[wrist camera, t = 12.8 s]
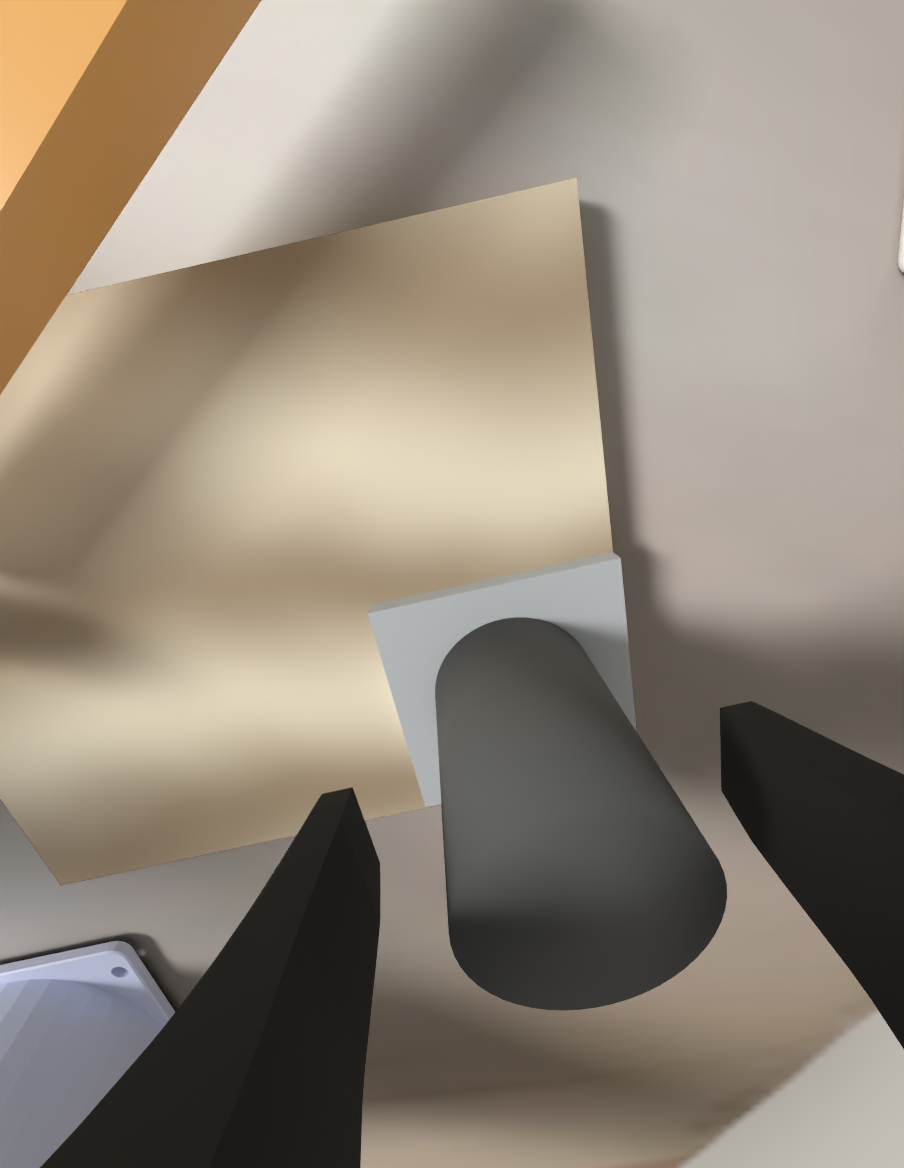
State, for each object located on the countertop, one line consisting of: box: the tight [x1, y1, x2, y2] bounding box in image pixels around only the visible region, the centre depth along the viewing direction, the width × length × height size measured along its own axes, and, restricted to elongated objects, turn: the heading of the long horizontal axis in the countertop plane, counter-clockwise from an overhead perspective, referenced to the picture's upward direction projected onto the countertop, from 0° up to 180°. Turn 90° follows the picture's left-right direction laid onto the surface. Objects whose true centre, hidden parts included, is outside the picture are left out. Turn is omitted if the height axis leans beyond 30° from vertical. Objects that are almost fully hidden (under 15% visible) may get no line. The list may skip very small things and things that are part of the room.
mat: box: [368, 552, 637, 807], centre depth 13 cm, size 6×6×1 cm
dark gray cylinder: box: [435, 617, 727, 1010], centre depth 10 cm, size 4×4×6 cm
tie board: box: [0, 178, 613, 885], centre depth 13 cm, size 14×17×1 cm
